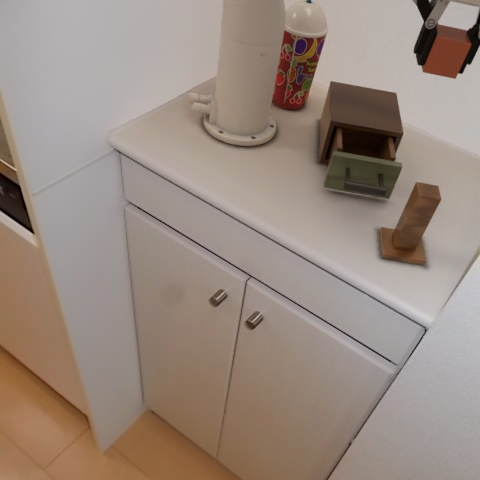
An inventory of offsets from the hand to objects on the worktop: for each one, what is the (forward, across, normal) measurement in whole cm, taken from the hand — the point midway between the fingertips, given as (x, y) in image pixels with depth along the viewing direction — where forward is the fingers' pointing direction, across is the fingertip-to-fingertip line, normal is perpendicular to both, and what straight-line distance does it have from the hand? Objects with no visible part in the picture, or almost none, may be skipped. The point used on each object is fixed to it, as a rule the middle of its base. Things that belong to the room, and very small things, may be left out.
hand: (439, 63), depth 62 cm
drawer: (+22, +3, -7) cm, 23 cm away
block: (+1, 0, 0) cm, 1 cm away
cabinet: (+23, +3, -18) cm, 29 cm away
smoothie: (+24, +15, -30) cm, 41 cm away
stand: (+23, -4, +7) cm, 24 cm away
